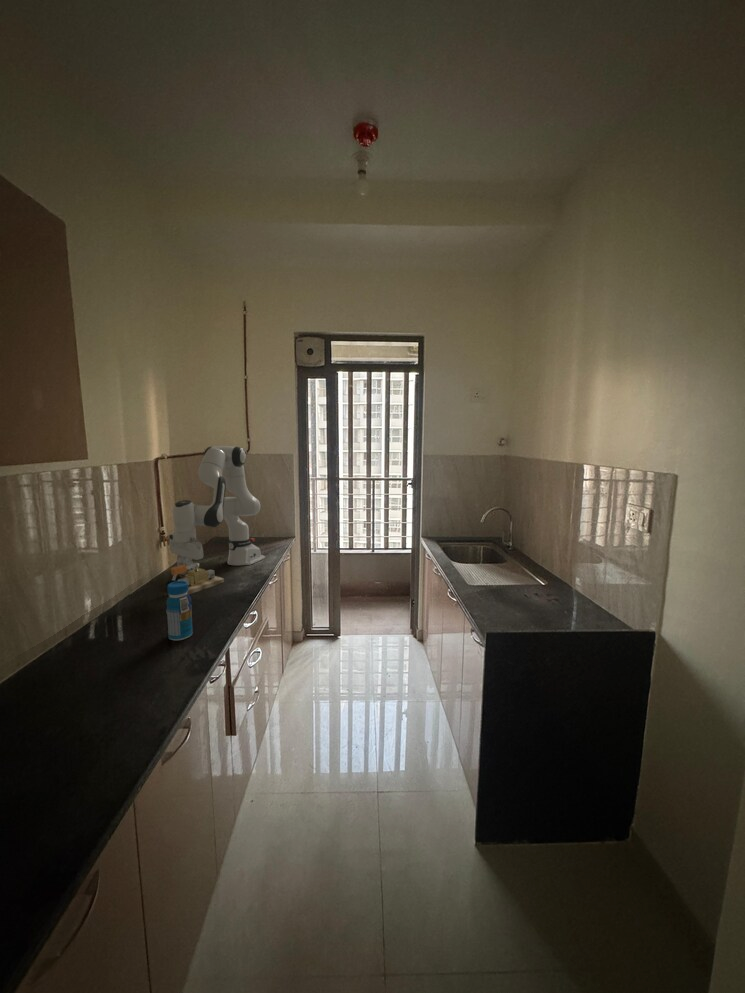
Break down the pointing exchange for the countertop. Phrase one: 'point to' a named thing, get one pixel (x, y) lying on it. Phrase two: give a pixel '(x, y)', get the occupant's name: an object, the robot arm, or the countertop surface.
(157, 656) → the countertop surface
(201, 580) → the pipe and valve body
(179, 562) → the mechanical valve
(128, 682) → the countertop surface
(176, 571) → the valve lever
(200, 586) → the valve board
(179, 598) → the beverage bottle
